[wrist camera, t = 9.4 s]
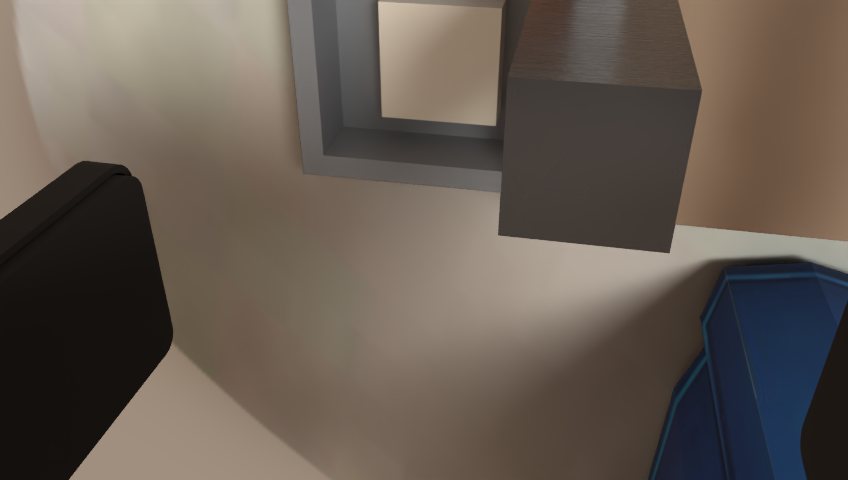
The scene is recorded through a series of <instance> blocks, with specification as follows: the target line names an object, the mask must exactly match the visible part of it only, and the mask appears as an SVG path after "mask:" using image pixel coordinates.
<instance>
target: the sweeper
mask: <svg viewBox="0 0 848 480" xmlns="http://www.w3.org/2000/svg"><path fill="white" fill-rule="evenodd" d="M701 95H702V87H701V84H700V80H699V76H698V72H697V69H696V65H695V61H694V58H693V54H692V50H691V46H690V43H689V39H688V35H687V31H686V28H685V24H684V20H683V16H682V13H681V9H680V5H679V2H678V0H531V2H530V5H529V8H528V12H527V15H526V18H525V22H524V25H523V28H522V31H521V35H520V38H519V41H518V45H517V48H516V51H515V54H514V58H513V61H512V64H511V68H510V71H509V74H508V79H507V96H506V113H505V130H504V146H503V163H502V180H501V197H500V214H499V230H498V235H500V236H510V237H520V238H529V239H539V240H548V241H558V242H567V243H577V244H587V245H596V246H606V247H615V248H625V249H634V250H644V251H653V252H663V253H670V248H671V243H672V238H673V233H674V228H675V223H676V218H677V213H678V208H679V203H680V198H681V193H682V189H683V184H684V179H685V174H686V169H687V164H688V159H689V154H690V149H691V144H692V139H693V134H694V129H695V124H696V120H697V115H698V110H699V105H700V100H701Z"/></svg>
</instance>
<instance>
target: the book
mask: <svg viewBox="0 0 848 480" xmlns="http://www.w3.org/2000/svg"><path fill="white" fill-rule="evenodd" d="M847 301H848V274H845V273H841V272H838V271H835V270H832V269H829V268H826V267H823V266H820V265H816V264H813V263H796V264H775V265H755V266H734V267H724V269H723V271H722V273H721V275H720V277H719V279H718V281H717V283H716V285H715V287H714V289H713V291H712V293H711V295H710V298H709V300H708V302H707V304H706V306H705V308H704V310H703V312H702V314H701V316H700V319H701V326H702V332H703V339H704V346H705V347H704V349H703V350H702V351H701V353H700V354H699V355H698V357H697V358H696V359H695V361H694V362H693V364H692V365H691V366H690V368H689V369H688V370H687V372H686V373H685V374H684V376H683V377H682V378H681V380H680V381H679V383H678V384H677V385H676V387H675V388H674V391H673V395H672V398H671V401H670V405H669V408H668V412H667V415H666V419H665V422H664V426H663V429H662V433H661V436H660V440H659V443H658V447H657V450H656V453H655V457H654V460H653V464H652V467H651V471H650V474H649V478H648V480H807V478H806V474H805V470H804V466H803V462H802V457H801V451H800V437H801V430H802V426H803V423H804V420H805V417H806V414H807V412H808V409H809V406H810V403H811V401H812V398H813V395H814V392H815V389H816V387H817V384H818V381H819V378H820V376H821V373H822V370H823V367H824V364H825V362H826V359H827V356H828V353H829V351H830V348H831V345H832V342H833V339H834V337H835V334H836V331H837V328H838V326H839V323H840V320H841V317H842V314H843V312H844V309H845V306H846V303H847Z"/></svg>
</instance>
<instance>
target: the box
mask: <svg viewBox="0 0 848 480" xmlns="http://www.w3.org/2000/svg"><path fill="white" fill-rule="evenodd" d="M378 1H379V0H287V5H288V16H289V26H290V37H291V47H292V58H293V68H294V79H295V89H296V100H297V110H298V121H299V131H300V142H301V152H302V163H303V173H304V174H312V175H322V176H333V177H343V178H354V179H364V180H375V181H385V182H396V183H406V184H417V185H427V186H438V187H448V188H459V189H469V190H480V191H490V192H501V180H502V163H503V146H504V130H505V113H506V96H507V79H508V74H509V71H510V68H511V64H512V61H513V58H514V54H515V51H516V48H517V45H518V41H519V38H520V35H521V31H522V28H523V25H524V22H525V18H526V15H527V12H528V8H529V5H530V2H531V0H507V8H506V26H505V44H504V62H503V79H502V97H501V110H500V114H499V117H498V120H497V124H496V126H489V125H476V124H464V123H452V122H439V121H427V120H415V119H402V118H390V117H382V105H381V74H380V43H379V13H378Z"/></svg>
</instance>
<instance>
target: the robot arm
mask: <svg viewBox="0 0 848 480" xmlns="http://www.w3.org/2000/svg"><path fill="white" fill-rule="evenodd" d="M172 339H173V327H172V322H171V317H170V313H169V308H168V303H167V299H166V294H165V290H164V285H163V280H162V276H161V271H160V267H159V262H158V257H157V253H156V248H155V243H154V239H153V234H152V230H151V225H150V220H149V216H148V211H147V206H146V202H145V197H144V193H143V188H142V185H141V183H140V181H139V180H138V179H137V178H136V177H133V176H132V175H131V173H130V171H129V170H128V168H126V167H125V166H123V165H117V164H108V163H99V162H91V161H82V162H79V163H77V164H76V165H74V166H73V167H72V168H70V169H69V170H68V171H66V172H65V173H63V174H62V175H61V176H59V177H58V178H57V179H55V180H54V181H53V182H51V183H50V184H48V185H47V186H46V187H44V188H43V189H42V190H40V191H39V192H38V193H36V194H35V195H34V196H33V197H31V198H29V199H28V200H27V201H25V202H24V203H23V204H21V205H20V206H19V207H17V208H16V209H14V210H13V211H12V212H11V213H9V214H8V215H6V216H5V217H4V218H2V219H1V220H0V480H69V479H70V477H71V476H72V475H73V473H74V472H75V471H76V470H77V468H78V467H79V466H80V464H81V463H82V462H83V461H84V459H85V458H86V457H87V455H88V454H89V453H90V451H91V450H92V449H93V448H94V446H95V445H96V444H97V443H98V441H99V440H100V439H101V438H102V436H103V435H104V434H105V432H106V431H107V430H108V428H109V427H110V426H111V425H112V423H113V422H114V421H115V419H116V418H117V417H118V416H119V414H120V413H121V412H122V410H123V409H124V408H125V407H126V405H127V404H128V403H129V402H130V400H131V399H132V398H133V396H134V395H135V394H136V393H137V391H138V390H139V389H140V387H141V386H142V385H143V383H144V382H145V381H146V380H147V378H148V377H149V376H150V374H151V373H152V372H153V371H154V369H155V368H156V367H157V365H158V364H159V363H160V362H161V360H162V359H163V358H164V357H165V355H166V354H167V352H168V351H169V349H170V346H171V343H172ZM800 451H801V457H802V462H803V466H804V470H805V474H806V478H807V480H848V301H847V303H846V306H845V309H844V312H843V314H842V317H841V320H840V323H839V326H838V328H837V331H836V334H835V337H834V339H833V342H832V345H831V348H830V351H829V353H828V356H827V359H826V362H825V364H824V367H823V370H822V373H821V376H820V378H819V381H818V384H817V387H816V389H815V392H814V395H813V398H812V401H811V403H810V406H809V409H808V412H807V414H806V417H805V420H804V423H803V426H802V430H801V437H800Z"/></svg>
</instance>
